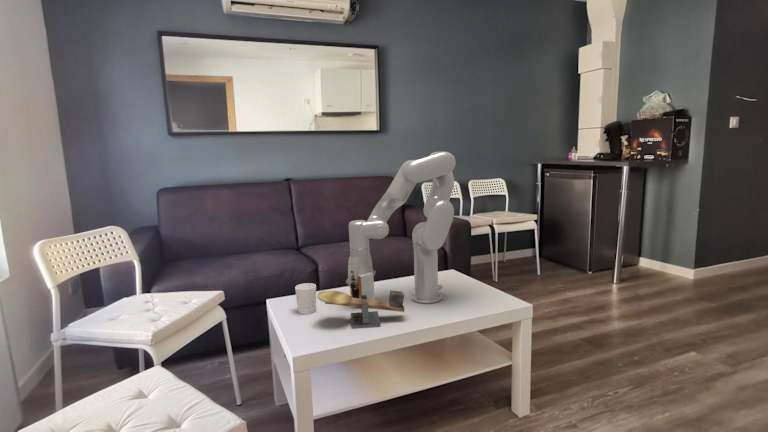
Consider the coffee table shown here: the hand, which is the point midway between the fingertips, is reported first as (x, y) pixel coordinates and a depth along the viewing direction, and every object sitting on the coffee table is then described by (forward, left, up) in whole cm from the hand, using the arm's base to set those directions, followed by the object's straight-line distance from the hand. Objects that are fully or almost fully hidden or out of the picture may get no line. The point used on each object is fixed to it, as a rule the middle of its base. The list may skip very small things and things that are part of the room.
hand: (362, 295), depth 163 cm
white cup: (+17, -13, -4) cm, 22 cm away
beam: (+13, +11, +2) cm, 16 cm away
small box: (0, 0, -4) cm, 4 cm away
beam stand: (+11, +12, -4) cm, 17 cm away
